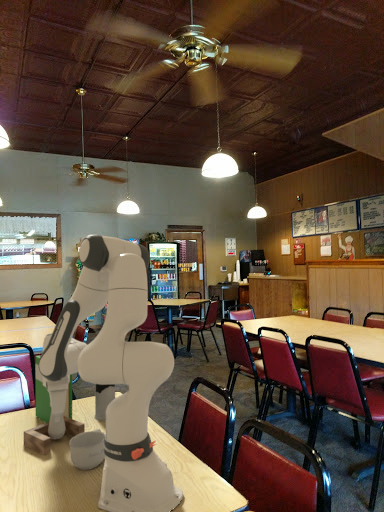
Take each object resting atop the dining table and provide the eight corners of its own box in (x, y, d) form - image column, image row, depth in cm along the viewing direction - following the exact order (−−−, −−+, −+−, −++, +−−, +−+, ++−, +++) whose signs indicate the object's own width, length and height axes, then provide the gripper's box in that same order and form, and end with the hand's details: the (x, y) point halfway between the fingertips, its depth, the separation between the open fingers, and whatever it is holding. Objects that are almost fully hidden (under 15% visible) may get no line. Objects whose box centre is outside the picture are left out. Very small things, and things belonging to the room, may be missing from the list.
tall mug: (101, 422, 144) (100, 383, 144) (84, 412, 154) (83, 375, 155) (120, 416, 149) (120, 378, 150) (103, 406, 160) (102, 371, 160)
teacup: (93, 476, 106) (93, 448, 106) (61, 470, 109) (61, 443, 109) (118, 453, 119) (118, 428, 119) (89, 449, 122) (89, 424, 123)
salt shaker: (65, 439, 127) (64, 400, 127) (47, 441, 125) (47, 402, 126) (66, 432, 132) (65, 395, 133) (48, 434, 131) (48, 397, 131)
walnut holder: (84, 436, 131) (84, 423, 132) (43, 455, 119) (43, 440, 119) (64, 428, 139) (64, 416, 139) (23, 445, 126) (23, 431, 126)
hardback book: (72, 423, 144) (71, 360, 144) (53, 428, 138) (53, 363, 139) (53, 410, 156) (53, 353, 157) (35, 415, 151) (35, 356, 152)
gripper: (45, 372, 138) (45, 410, 137) (48, 388, 119) (48, 432, 118) (63, 369, 140) (63, 407, 140) (68, 385, 121) (69, 428, 121)
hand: (56, 418), depth 129 cm, fingers closed on salt shaker, 4 cm apart
